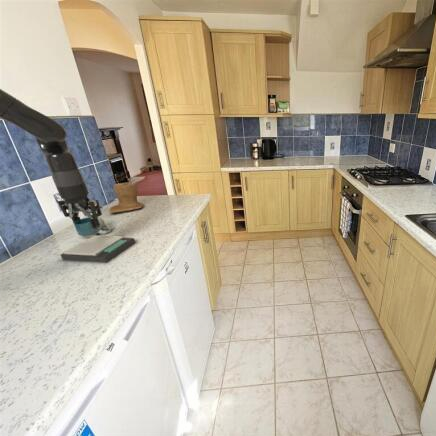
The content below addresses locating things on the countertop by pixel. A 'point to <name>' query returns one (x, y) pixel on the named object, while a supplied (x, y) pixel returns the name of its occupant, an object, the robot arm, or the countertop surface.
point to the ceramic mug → (101, 227)
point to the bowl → (85, 227)
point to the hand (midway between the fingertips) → (88, 227)
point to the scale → (98, 249)
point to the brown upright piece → (126, 198)
